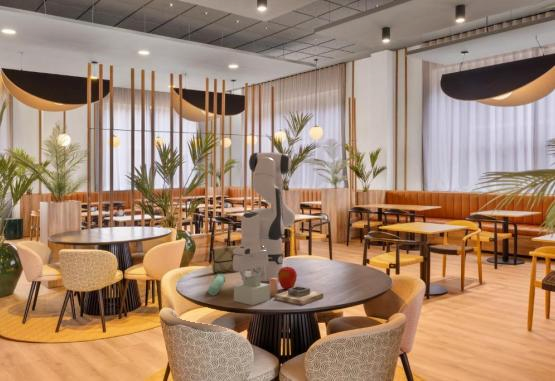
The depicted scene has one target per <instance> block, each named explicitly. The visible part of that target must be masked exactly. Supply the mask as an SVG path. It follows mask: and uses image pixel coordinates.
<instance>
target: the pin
mask: <svg viewBox="0 0 555 381" xmlns="http://www.w3.org/2000/svg"><path fill="white" fill-rule="evenodd" d="M268 284H269V285H270V297H275V295H276V294H279V289H278V288H279V287H278V286H279V281H278V278H269V281H268Z"/></svg>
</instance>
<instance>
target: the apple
mask: <svg viewBox="0 0 555 381" xmlns="http://www.w3.org/2000/svg"><path fill="white" fill-rule="evenodd" d="M297 276H298V274H297V272H296V270H295V269H294V268H293V267H291V266H288V265H286V266H283V268H281V269H280V270H279V273H278V279H279V281H278V283H279V284H280V287H281V288H282V289H283V290H285V291H288V289H290V288H293V287H295V285H296V282H297Z"/></svg>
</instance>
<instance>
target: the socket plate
mask: <svg viewBox="0 0 555 381" xmlns="http://www.w3.org/2000/svg"><path fill="white" fill-rule="evenodd" d="M323 298H324V293H322V292H319V291H313V290H311V288H310V287H304V286H299V285H297V286H294V287H293V288H290V289H288V290H285V291H283V292H280V293H279V292H278V294H276V295H275V296H274V300H277V301H282V302H286V303H290V304H295V305H300V306H304V305H307V304H309V303H312V302H315V301H317V300H318V301H319V300H320V299H323Z"/></svg>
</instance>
